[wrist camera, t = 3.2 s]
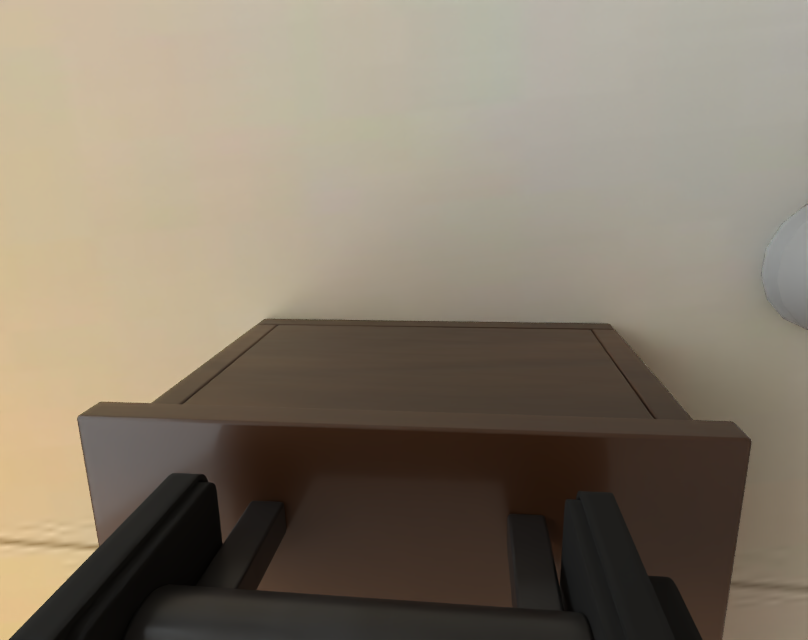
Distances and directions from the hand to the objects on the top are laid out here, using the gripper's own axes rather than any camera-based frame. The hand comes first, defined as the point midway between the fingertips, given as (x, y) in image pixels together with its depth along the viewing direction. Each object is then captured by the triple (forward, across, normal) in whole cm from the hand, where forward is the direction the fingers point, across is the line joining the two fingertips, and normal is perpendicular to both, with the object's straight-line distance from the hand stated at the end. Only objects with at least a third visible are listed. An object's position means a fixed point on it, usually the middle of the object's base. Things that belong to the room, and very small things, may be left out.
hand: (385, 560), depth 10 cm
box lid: (+2, 0, +6) cm, 7 cm away
